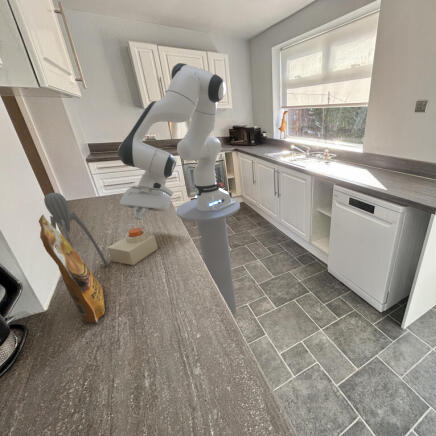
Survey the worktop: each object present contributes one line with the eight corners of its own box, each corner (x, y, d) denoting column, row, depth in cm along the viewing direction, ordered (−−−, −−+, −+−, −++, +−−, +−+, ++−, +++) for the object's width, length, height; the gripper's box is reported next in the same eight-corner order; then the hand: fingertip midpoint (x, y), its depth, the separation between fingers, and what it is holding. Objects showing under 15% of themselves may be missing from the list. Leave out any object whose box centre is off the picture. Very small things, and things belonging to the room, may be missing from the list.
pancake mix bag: (75, 335, 61) (24, 240, 49) (77, 293, 75) (38, 211, 63) (107, 322, 65) (67, 231, 53) (104, 284, 78) (71, 205, 67)
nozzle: (136, 231, 96) (134, 227, 95) (145, 233, 95) (143, 228, 94) (126, 236, 92) (125, 232, 91) (136, 238, 91) (134, 233, 90)
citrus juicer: (107, 265, 88) (77, 187, 76) (108, 279, 81) (75, 195, 68) (67, 276, 82) (27, 193, 69) (64, 293, 75) (19, 203, 62)
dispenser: (138, 244, 101) (133, 228, 98) (158, 248, 99) (153, 231, 95) (112, 261, 91) (105, 242, 87) (133, 265, 88) (127, 246, 85)
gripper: (123, 182, 96) (109, 213, 92) (166, 185, 92) (153, 218, 87) (135, 189, 102) (122, 219, 98) (177, 193, 98) (165, 224, 93)
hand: (137, 219), depth 92 cm, fingers closed
